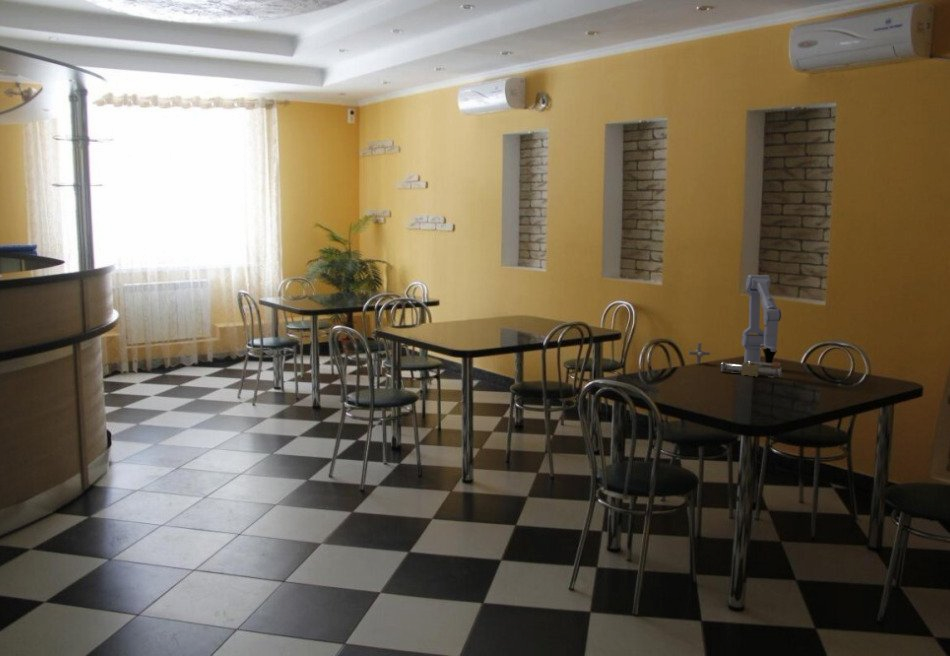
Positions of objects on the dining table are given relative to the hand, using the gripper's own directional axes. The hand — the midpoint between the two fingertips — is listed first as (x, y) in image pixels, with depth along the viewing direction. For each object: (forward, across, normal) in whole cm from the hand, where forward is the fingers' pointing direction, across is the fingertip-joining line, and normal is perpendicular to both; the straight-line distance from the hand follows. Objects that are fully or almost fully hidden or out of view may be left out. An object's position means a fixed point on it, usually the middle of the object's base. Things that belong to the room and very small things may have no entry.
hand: (768, 364), depth 386 cm
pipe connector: (+5, -25, -27) cm, 37 cm away
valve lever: (0, +1, -2) cm, 3 cm away
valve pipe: (+5, 0, -8) cm, 9 cm away
